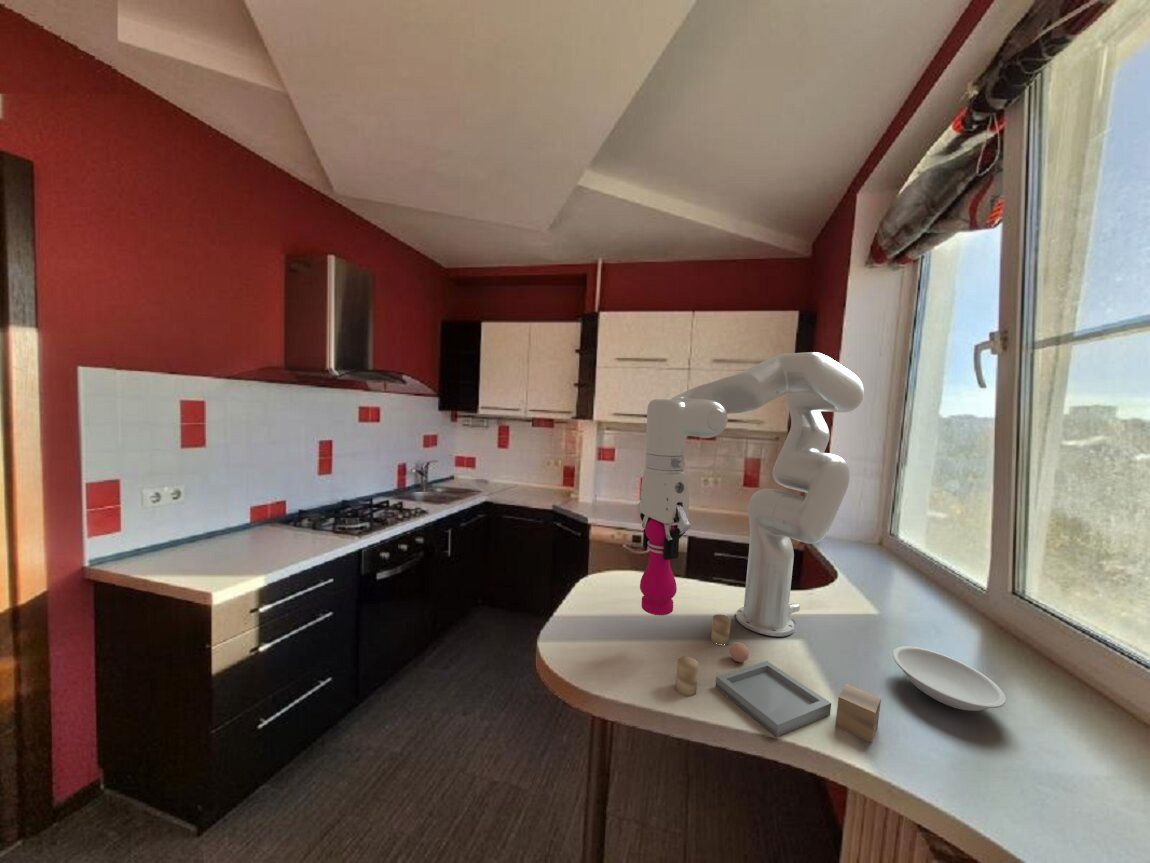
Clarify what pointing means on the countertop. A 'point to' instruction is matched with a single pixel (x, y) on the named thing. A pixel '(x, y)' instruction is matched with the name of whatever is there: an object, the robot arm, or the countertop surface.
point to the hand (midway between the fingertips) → (659, 552)
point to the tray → (773, 697)
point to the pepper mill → (657, 573)
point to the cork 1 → (686, 676)
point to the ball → (739, 652)
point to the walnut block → (858, 712)
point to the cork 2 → (720, 629)
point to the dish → (948, 679)
